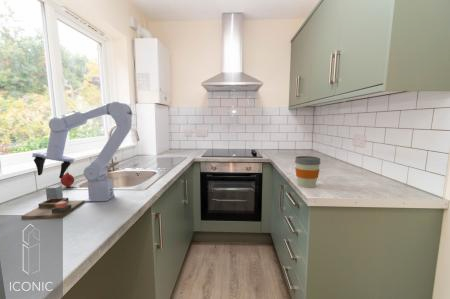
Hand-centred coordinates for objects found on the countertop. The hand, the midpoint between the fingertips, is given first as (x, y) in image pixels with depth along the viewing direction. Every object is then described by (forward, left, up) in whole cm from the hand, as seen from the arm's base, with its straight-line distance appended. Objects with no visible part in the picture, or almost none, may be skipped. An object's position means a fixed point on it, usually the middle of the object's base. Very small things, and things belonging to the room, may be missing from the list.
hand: (50, 176), depth 97 cm
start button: (-13, +16, -8) cm, 22 cm away
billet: (-1, 0, -11) cm, 11 cm away
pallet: (-9, +12, -11) cm, 18 cm away
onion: (+5, -20, -11) cm, 23 cm away
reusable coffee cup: (-120, -13, -11) cm, 121 cm away
